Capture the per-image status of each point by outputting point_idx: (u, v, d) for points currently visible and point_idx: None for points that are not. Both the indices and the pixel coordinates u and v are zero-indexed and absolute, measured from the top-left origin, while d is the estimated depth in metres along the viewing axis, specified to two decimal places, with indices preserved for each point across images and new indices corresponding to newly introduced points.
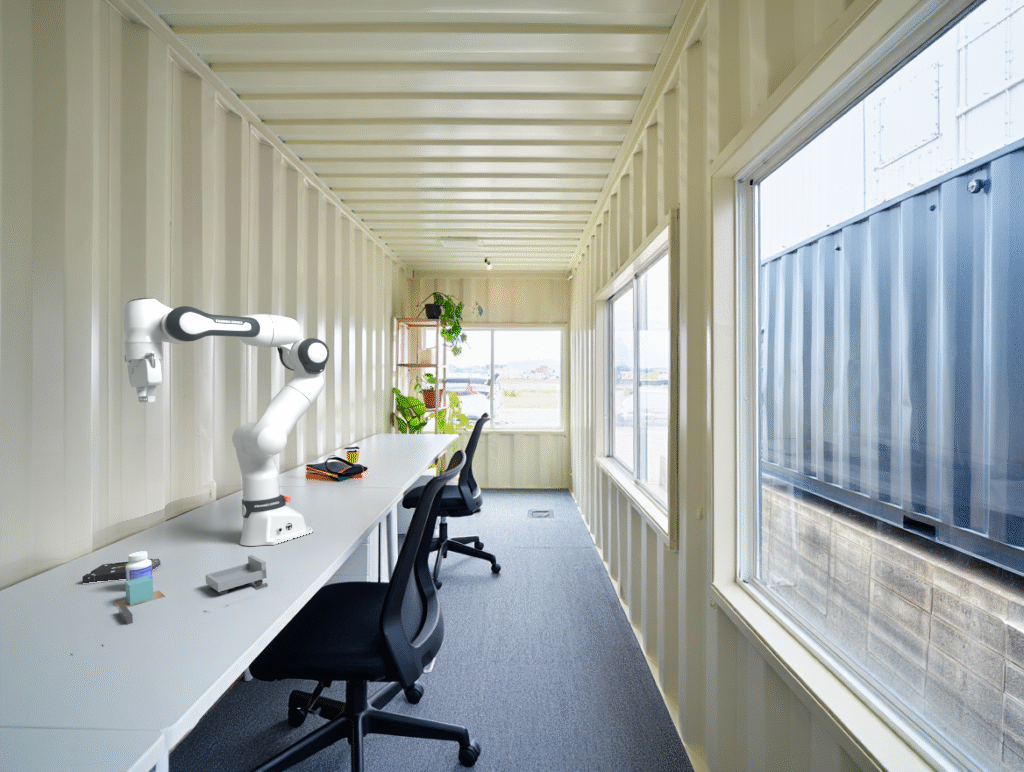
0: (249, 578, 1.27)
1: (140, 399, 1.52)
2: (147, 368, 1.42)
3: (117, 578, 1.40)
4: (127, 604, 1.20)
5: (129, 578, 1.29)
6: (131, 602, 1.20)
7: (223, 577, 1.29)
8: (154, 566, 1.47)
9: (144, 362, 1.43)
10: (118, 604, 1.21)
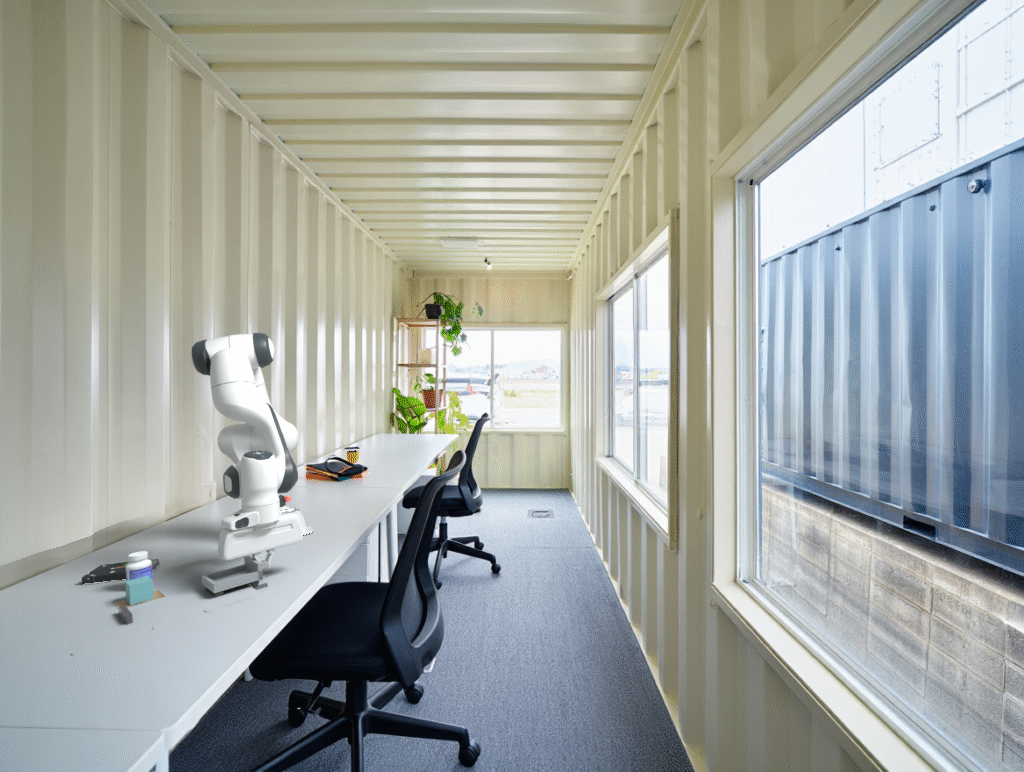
0: (245, 579, 1.26)
1: None
2: (301, 524, 1.40)
3: (117, 578, 1.40)
4: (127, 604, 1.20)
5: (129, 578, 1.29)
6: (131, 602, 1.20)
7: (219, 578, 1.28)
8: (153, 566, 1.47)
9: (295, 519, 1.39)
10: (118, 604, 1.21)
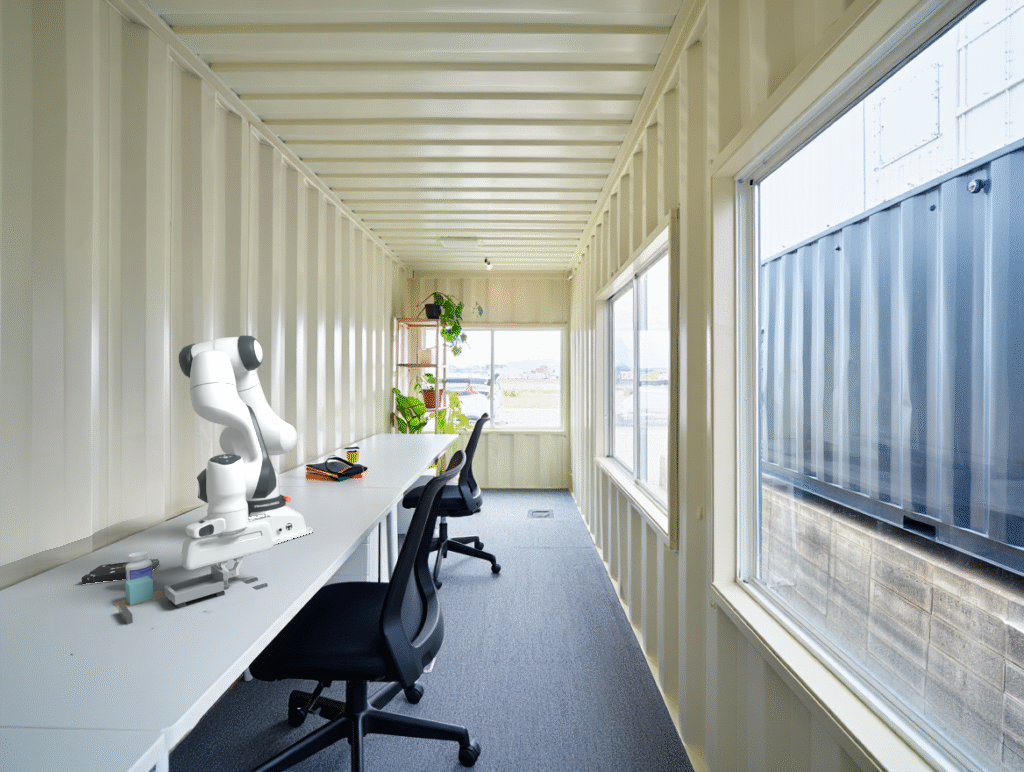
0: (209, 589, 1.21)
1: (231, 574, 1.28)
2: (271, 531, 1.34)
3: (117, 578, 1.40)
4: (127, 604, 1.20)
5: (129, 578, 1.29)
6: (131, 602, 1.20)
7: (183, 588, 1.23)
8: (153, 567, 1.47)
9: (265, 526, 1.33)
10: (118, 604, 1.21)
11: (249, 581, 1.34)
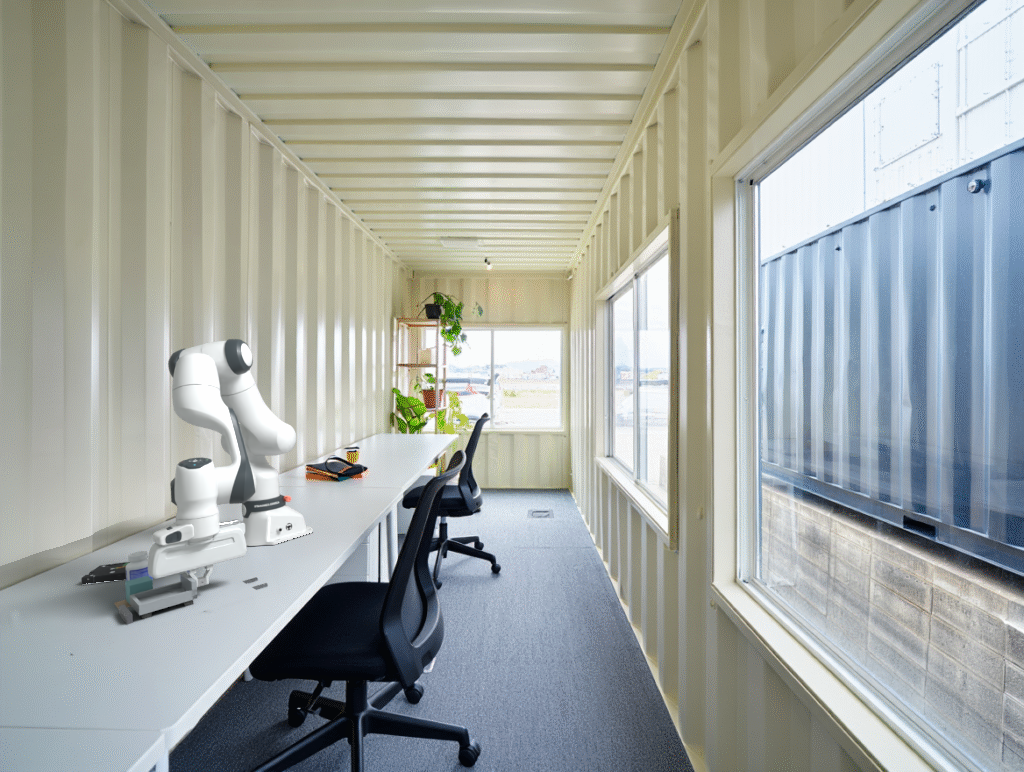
0: (176, 599, 1.16)
1: (201, 582, 1.23)
2: (244, 537, 1.29)
3: (117, 579, 1.40)
4: (127, 604, 1.20)
5: (129, 578, 1.29)
6: None
7: (150, 598, 1.18)
8: None
9: (237, 532, 1.28)
10: (118, 604, 1.21)
11: (249, 581, 1.34)
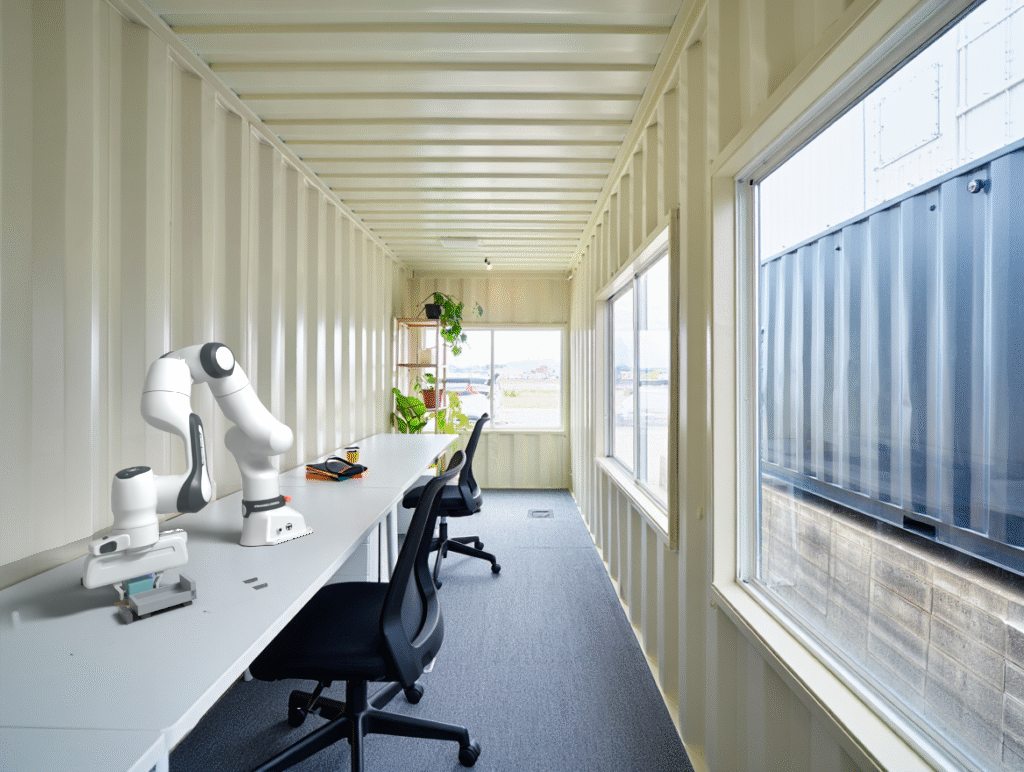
0: (175, 599, 1.16)
1: (127, 595, 1.21)
2: (185, 546, 1.29)
3: None
4: (127, 604, 1.20)
5: None
6: None
7: (149, 598, 1.18)
8: None
9: (178, 541, 1.27)
10: (118, 604, 1.21)
11: (249, 581, 1.34)
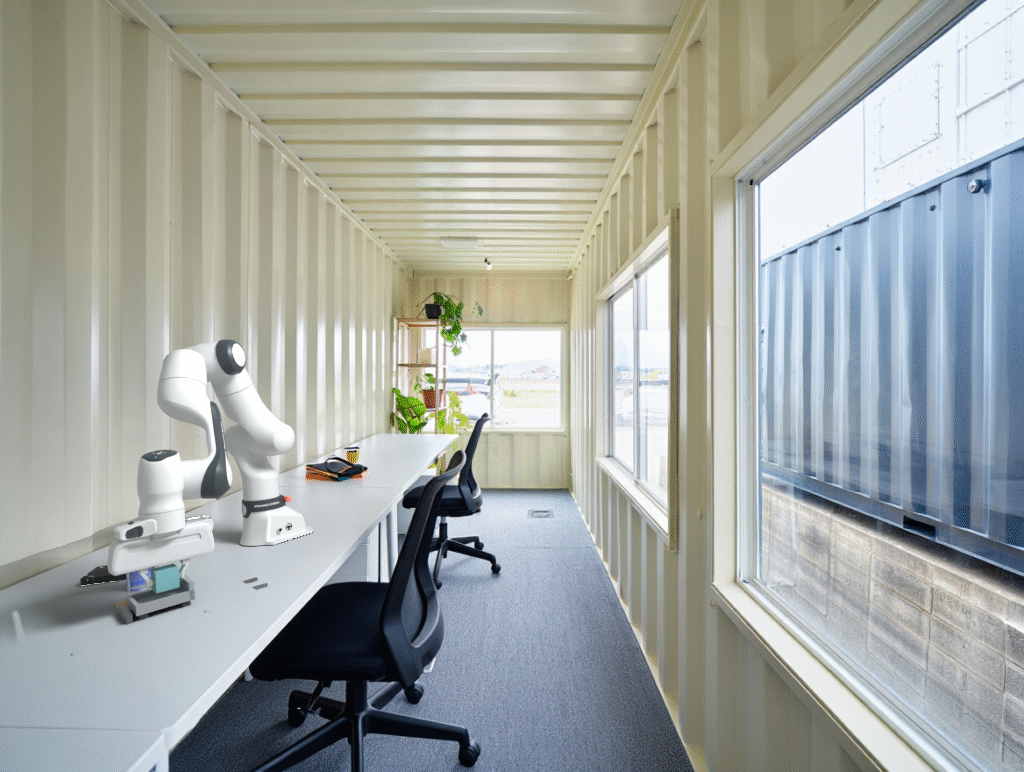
0: (174, 600, 1.16)
1: (153, 582, 1.16)
2: (212, 533, 1.24)
3: (117, 579, 1.39)
4: None
5: (129, 578, 1.29)
6: (157, 590, 1.15)
7: (147, 598, 1.18)
8: (152, 567, 1.47)
9: (205, 527, 1.23)
10: (118, 604, 1.21)
11: (249, 581, 1.34)
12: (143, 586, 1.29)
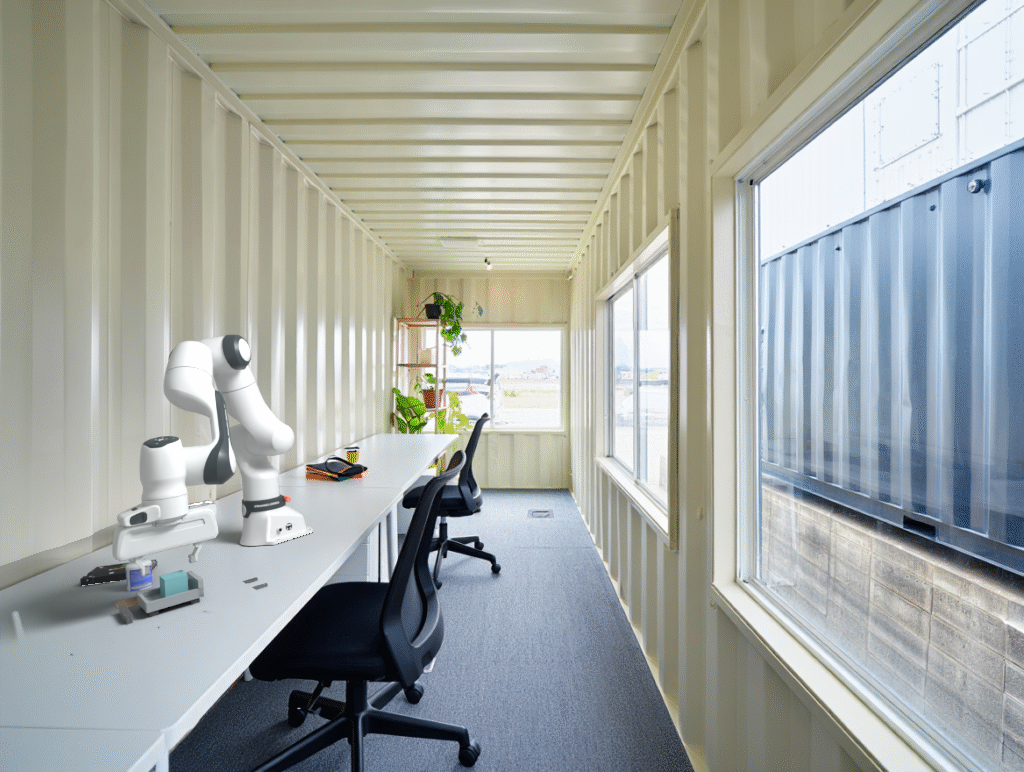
0: (183, 597, 1.17)
1: None
2: (215, 518, 1.25)
3: (117, 579, 1.39)
4: (127, 604, 1.20)
5: (129, 578, 1.29)
6: None
7: (157, 596, 1.19)
8: (152, 567, 1.47)
9: (208, 513, 1.23)
10: (118, 604, 1.21)
11: (249, 581, 1.34)
12: (143, 586, 1.29)
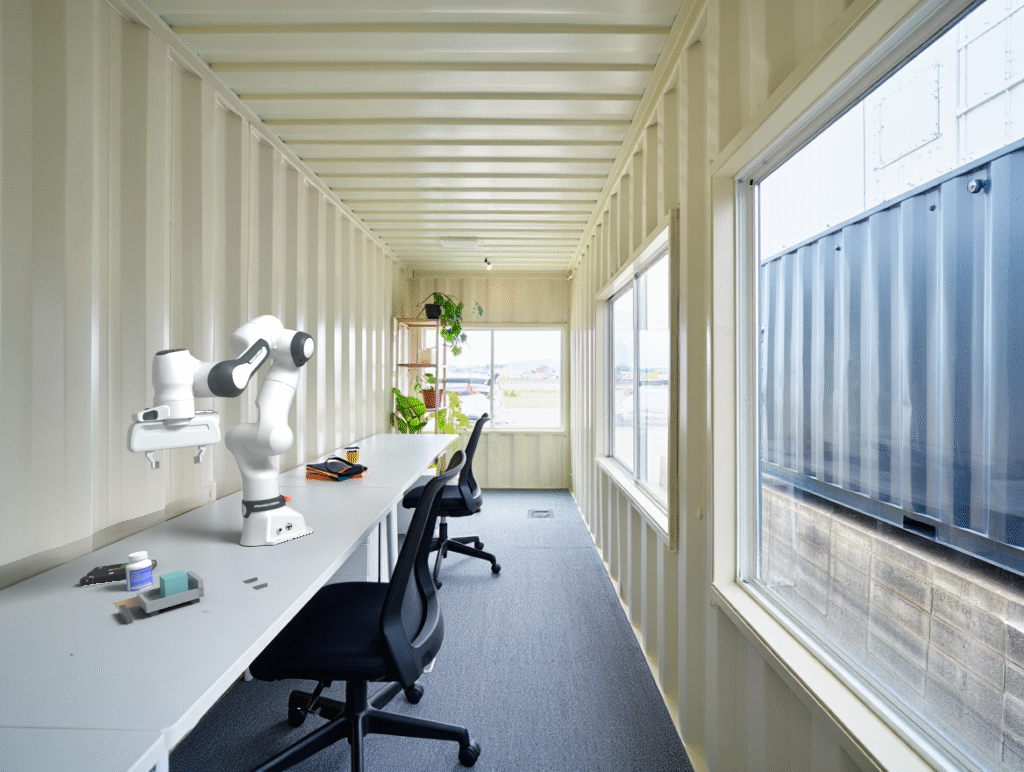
0: (183, 597, 1.17)
1: (158, 465, 1.29)
2: (218, 426, 1.39)
3: (117, 579, 1.39)
4: (127, 604, 1.20)
5: (129, 578, 1.29)
6: None
7: (157, 596, 1.19)
8: (152, 567, 1.47)
9: (212, 420, 1.37)
10: (118, 604, 1.21)
11: (249, 581, 1.34)
12: (143, 586, 1.29)
